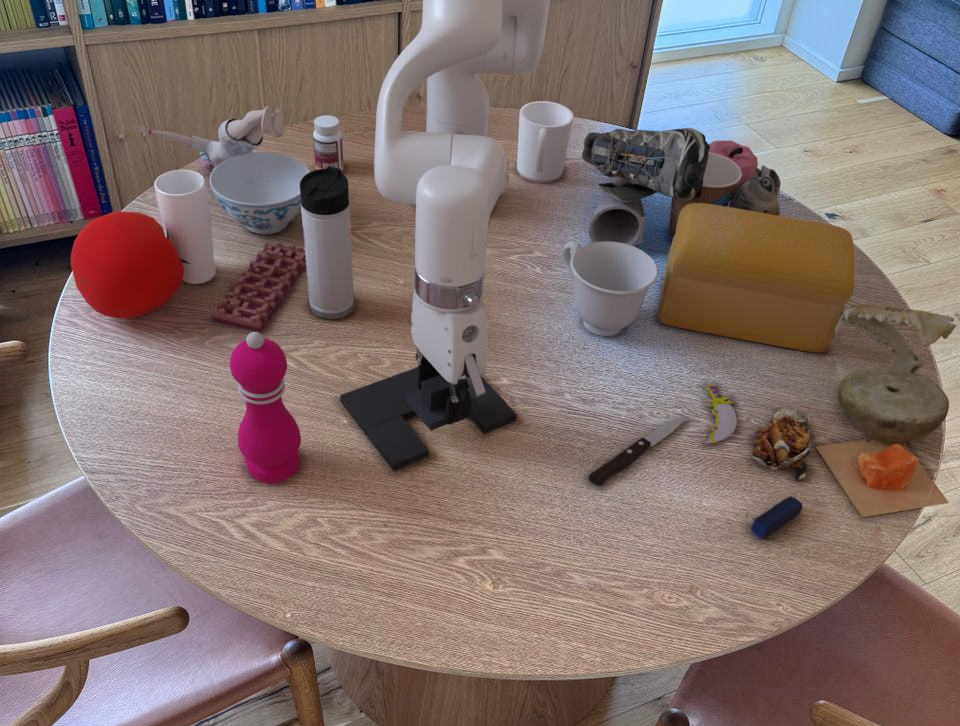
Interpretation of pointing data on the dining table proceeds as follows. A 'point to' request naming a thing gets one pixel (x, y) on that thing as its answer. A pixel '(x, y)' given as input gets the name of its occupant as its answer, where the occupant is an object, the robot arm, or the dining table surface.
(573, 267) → the teacup
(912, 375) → the weight
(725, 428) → the decorative knife
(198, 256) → the drinking glass
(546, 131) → the mug
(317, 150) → the pill bottle
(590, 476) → the kitchen knife
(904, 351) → the jawbone
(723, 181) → the coffee cup
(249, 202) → the chinaware
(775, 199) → the figurine
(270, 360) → the pepper mill
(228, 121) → the figurine
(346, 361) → the dining table surface
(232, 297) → the chocolate bar
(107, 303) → the tomato
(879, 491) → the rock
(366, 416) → the black u-shaped block
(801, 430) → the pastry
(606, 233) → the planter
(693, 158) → the running shoe
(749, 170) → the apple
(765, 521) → the eraser
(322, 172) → the travel mug
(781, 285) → the bread
